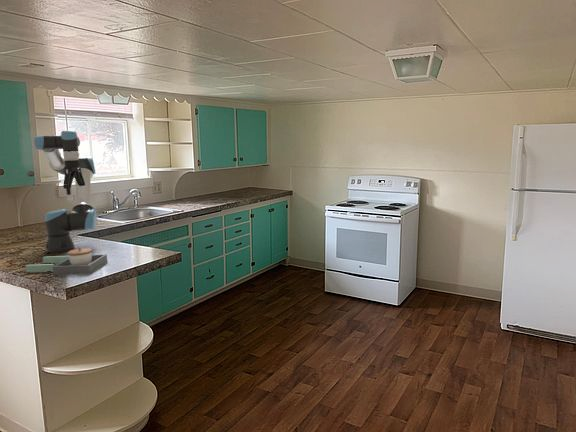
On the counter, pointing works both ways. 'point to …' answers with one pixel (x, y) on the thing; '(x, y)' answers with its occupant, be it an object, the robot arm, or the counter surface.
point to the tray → (79, 266)
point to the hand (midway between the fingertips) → (76, 199)
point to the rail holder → (46, 266)
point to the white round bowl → (80, 256)
